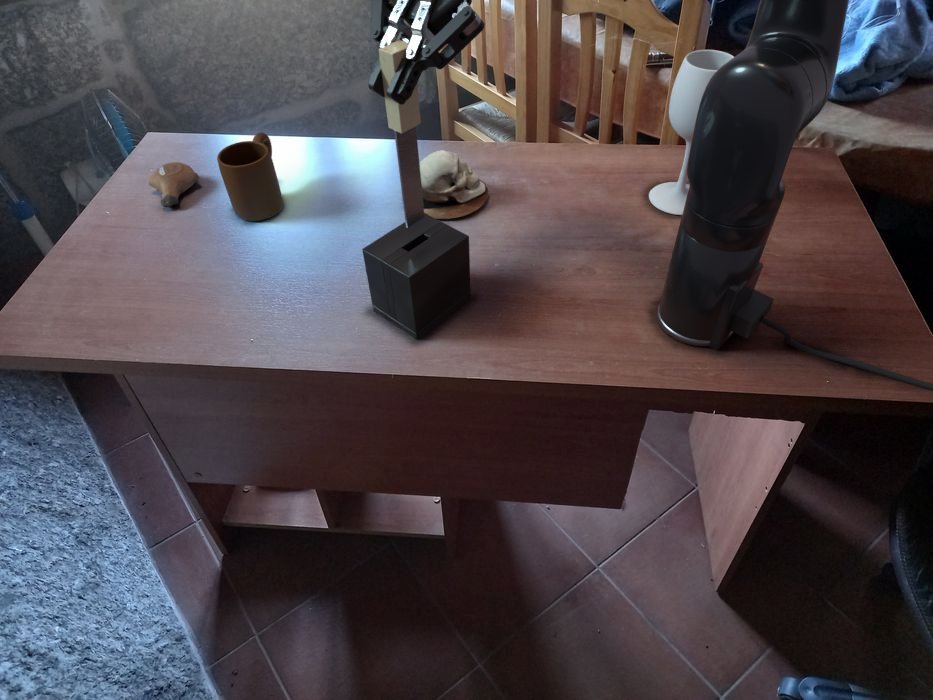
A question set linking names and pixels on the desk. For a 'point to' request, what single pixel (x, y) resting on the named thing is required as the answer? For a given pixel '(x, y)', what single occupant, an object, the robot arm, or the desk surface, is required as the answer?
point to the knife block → (418, 274)
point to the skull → (450, 186)
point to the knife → (404, 133)
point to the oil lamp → (172, 181)
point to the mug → (251, 178)
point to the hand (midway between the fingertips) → (385, 96)
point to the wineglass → (686, 119)
